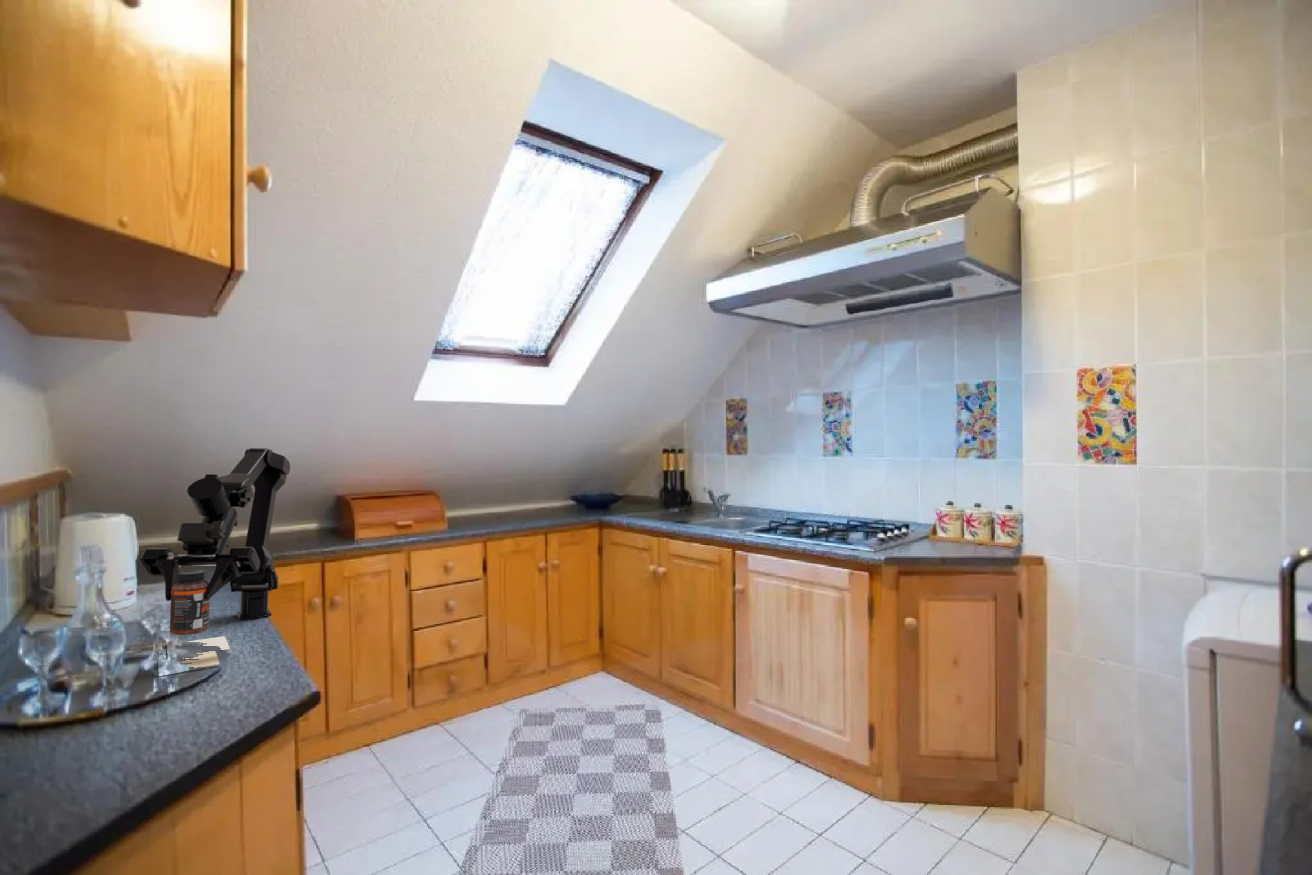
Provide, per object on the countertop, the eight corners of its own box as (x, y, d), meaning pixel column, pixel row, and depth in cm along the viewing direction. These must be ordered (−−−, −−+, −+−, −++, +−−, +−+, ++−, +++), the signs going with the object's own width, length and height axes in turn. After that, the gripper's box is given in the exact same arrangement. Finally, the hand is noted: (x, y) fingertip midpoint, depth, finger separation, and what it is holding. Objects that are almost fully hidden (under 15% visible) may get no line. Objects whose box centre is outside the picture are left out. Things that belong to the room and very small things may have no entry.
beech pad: (157, 662, 119) (157, 659, 119) (215, 653, 125) (215, 650, 125) (158, 676, 112) (158, 673, 112) (219, 666, 118) (219, 663, 118)
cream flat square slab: (165, 645, 129) (165, 644, 129) (225, 636, 135) (225, 635, 135) (167, 659, 121) (167, 658, 121) (230, 649, 127) (230, 648, 127)
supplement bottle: (209, 633, 118) (210, 572, 118) (168, 638, 115) (170, 576, 115) (208, 625, 123) (210, 567, 123) (170, 629, 119) (172, 570, 119)
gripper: (146, 506, 120) (110, 576, 110) (256, 506, 125) (231, 573, 114) (166, 540, 128) (134, 609, 117) (269, 539, 132) (247, 605, 122)
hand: (186, 599), depth 117 cm, fingers closed on supplement bottle, 6 cm apart
